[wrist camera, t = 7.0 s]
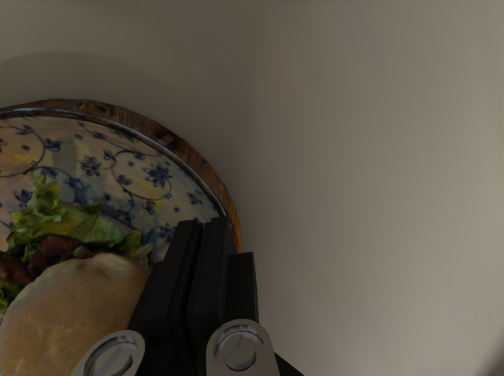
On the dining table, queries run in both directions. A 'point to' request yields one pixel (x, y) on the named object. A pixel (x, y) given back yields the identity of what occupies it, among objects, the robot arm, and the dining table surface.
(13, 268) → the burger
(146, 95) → the dining table surface
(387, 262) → the dining table surface
